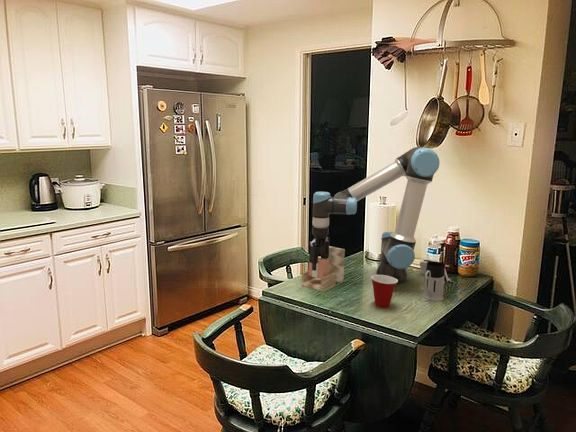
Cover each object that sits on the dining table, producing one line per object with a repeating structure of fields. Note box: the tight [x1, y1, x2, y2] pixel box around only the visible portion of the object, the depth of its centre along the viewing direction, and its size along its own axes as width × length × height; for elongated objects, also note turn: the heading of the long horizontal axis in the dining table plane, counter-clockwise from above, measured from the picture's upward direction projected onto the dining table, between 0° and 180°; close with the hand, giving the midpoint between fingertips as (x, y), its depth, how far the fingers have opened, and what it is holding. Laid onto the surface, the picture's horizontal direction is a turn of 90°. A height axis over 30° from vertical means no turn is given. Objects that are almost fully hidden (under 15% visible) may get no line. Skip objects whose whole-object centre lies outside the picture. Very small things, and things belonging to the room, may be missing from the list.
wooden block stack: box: [301, 245, 346, 292], centre depth 216 cm, size 12×17×16 cm
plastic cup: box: [370, 274, 398, 309], centre depth 191 cm, size 11×11×12 cm
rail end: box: [307, 256, 329, 279], centre depth 213 cm, size 8×5×8 cm, turn 51°
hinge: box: [419, 258, 452, 284], centre depth 228 cm, size 17×5×10 cm, turn 22°
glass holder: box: [422, 260, 446, 301], centre depth 200 cm, size 9×14×15 cm, turn 140°
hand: (318, 275), depth 214 cm, fingers closed on rail end, 5 cm apart
